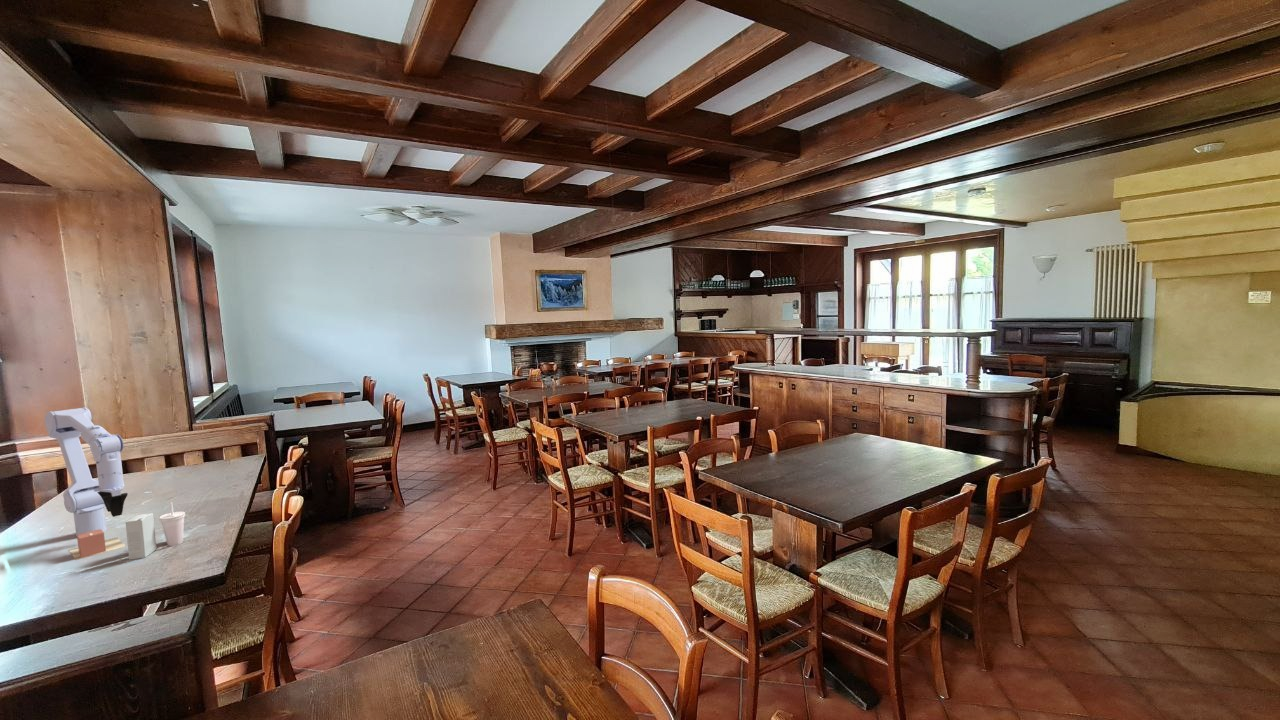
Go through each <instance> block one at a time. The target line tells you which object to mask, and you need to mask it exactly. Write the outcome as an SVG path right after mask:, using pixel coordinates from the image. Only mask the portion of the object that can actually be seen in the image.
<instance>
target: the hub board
mask: <svg viewBox="0 0 1280 720" xmlns="http://www.w3.org/2000/svg"><path fill="white" fill-rule="evenodd" d="M105 547H106V551H105V552H101V553H97V554H94V555H90V556H86V557H83V558H82V557H81V555H80V554H79V548H78V547H74V548H71V549H68V551H69V552H70V554H71V556H73V558H74V560H75V561H78V560H82V559H85V558H88V557H92V556H97V555H100V554H104V553H108V552H111V551H115V550H118V549H122V548H127V545H126V544H124V543H123V542H122V541H121V540H120V539H119V538H118V537H114V538H109V539H105Z"/></svg>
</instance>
